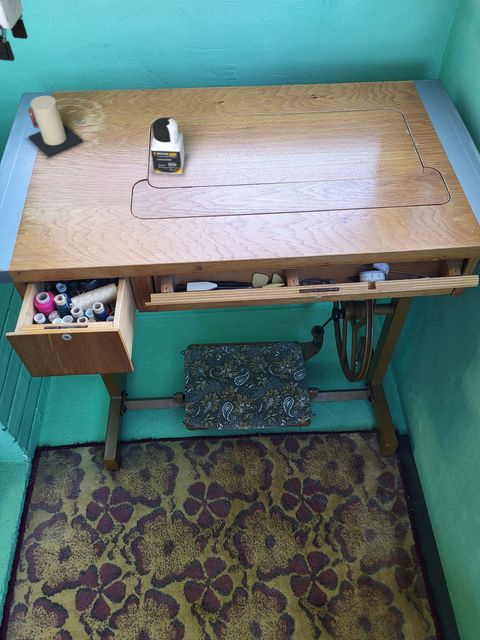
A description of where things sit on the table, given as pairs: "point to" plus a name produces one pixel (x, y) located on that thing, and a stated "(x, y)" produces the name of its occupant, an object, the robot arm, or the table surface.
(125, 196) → the table surface
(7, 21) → the robot arm
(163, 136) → the medicine bottle
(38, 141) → the rubber mat
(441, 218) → the table surface
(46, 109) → the cream cylinder canister
